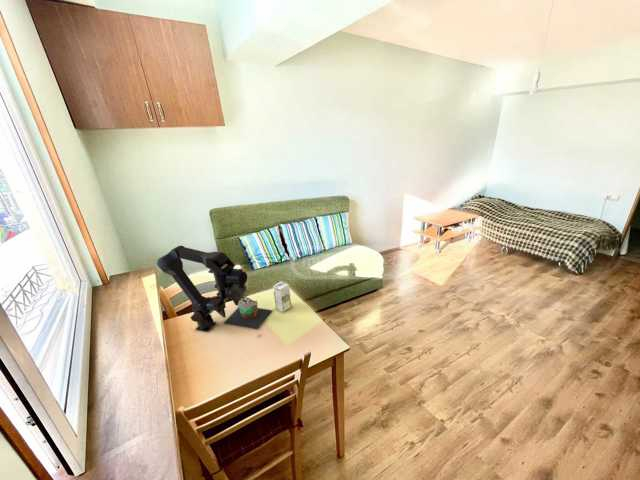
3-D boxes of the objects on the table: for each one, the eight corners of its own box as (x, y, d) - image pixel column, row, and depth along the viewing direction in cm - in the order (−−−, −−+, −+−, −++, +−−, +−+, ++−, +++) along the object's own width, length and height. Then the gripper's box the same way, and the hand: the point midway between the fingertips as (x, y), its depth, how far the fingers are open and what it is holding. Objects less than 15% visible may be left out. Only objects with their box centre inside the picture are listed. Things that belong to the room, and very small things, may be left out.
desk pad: (224, 323, 136) (224, 322, 135) (240, 306, 148) (240, 305, 147) (257, 329, 132) (257, 327, 131) (271, 311, 144) (271, 310, 143)
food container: (233, 316, 139) (229, 299, 135) (243, 309, 144) (239, 293, 139) (250, 323, 134) (247, 307, 129) (260, 316, 139) (257, 300, 134)
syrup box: (284, 303, 150) (280, 280, 143) (291, 307, 147) (288, 284, 140) (275, 308, 146) (272, 285, 139) (283, 312, 143) (280, 289, 136)
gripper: (226, 296, 108) (234, 327, 115) (252, 273, 124) (257, 301, 131) (201, 292, 110) (211, 323, 117) (230, 270, 126) (236, 298, 133)
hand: (230, 311), depth 125 cm, fingers open, 9 cm apart
